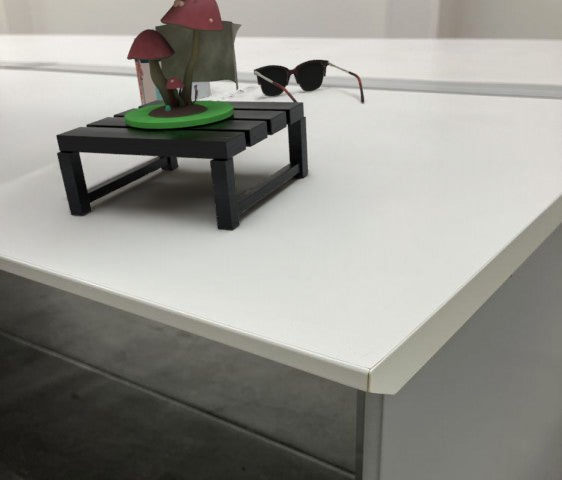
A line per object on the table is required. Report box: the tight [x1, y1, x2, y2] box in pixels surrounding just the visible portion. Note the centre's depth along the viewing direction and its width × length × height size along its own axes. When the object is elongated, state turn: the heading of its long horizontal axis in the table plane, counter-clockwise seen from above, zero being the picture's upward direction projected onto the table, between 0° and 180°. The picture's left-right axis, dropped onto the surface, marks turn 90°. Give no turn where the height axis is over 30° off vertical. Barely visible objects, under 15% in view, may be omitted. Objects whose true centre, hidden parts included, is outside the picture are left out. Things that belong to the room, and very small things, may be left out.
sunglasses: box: [253, 59, 365, 104], centre depth 110 cm, size 14×16×5 cm
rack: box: [55, 100, 309, 231], centre depth 69 cm, size 18×18×8 cm
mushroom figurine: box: [125, 0, 242, 129], centre depth 63 cm, size 12×13×15 cm
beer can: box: [133, 37, 163, 105], centre depth 97 cm, size 5×5×12 cm
